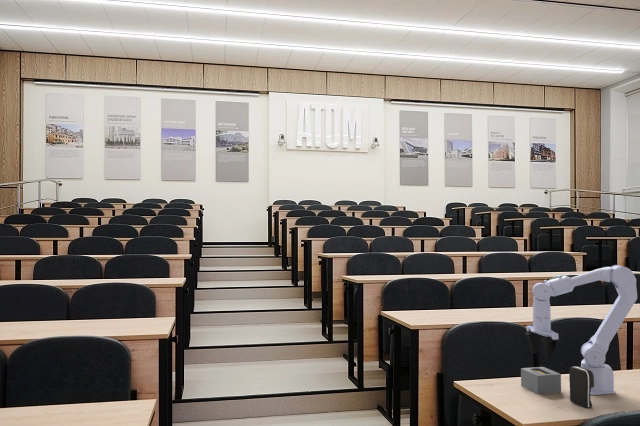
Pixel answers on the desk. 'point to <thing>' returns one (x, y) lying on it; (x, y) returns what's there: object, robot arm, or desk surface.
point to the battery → (581, 385)
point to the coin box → (541, 380)
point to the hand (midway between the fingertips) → (542, 355)
